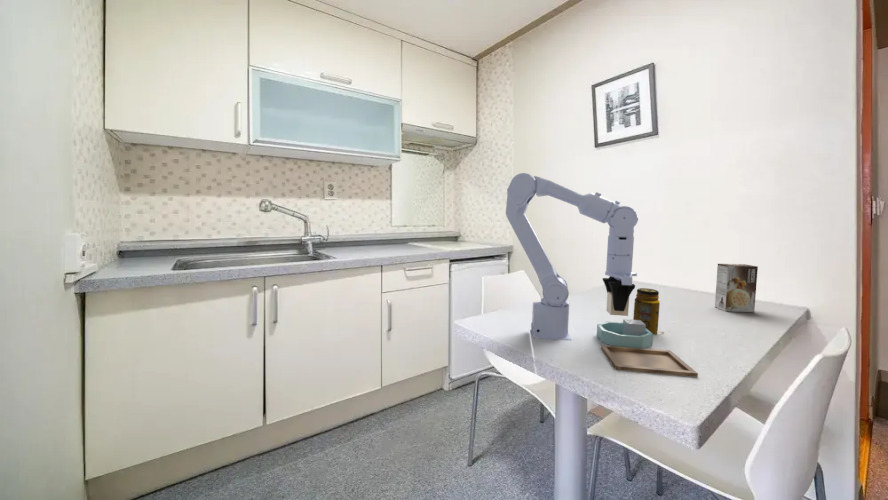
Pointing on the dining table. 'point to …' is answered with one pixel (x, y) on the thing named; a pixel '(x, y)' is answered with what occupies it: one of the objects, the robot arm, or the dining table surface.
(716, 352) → the dining table surface
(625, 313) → the beige block
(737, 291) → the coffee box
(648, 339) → the bowl
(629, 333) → the grey block
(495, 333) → the dining table surface
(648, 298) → the condiment
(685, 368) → the tray
